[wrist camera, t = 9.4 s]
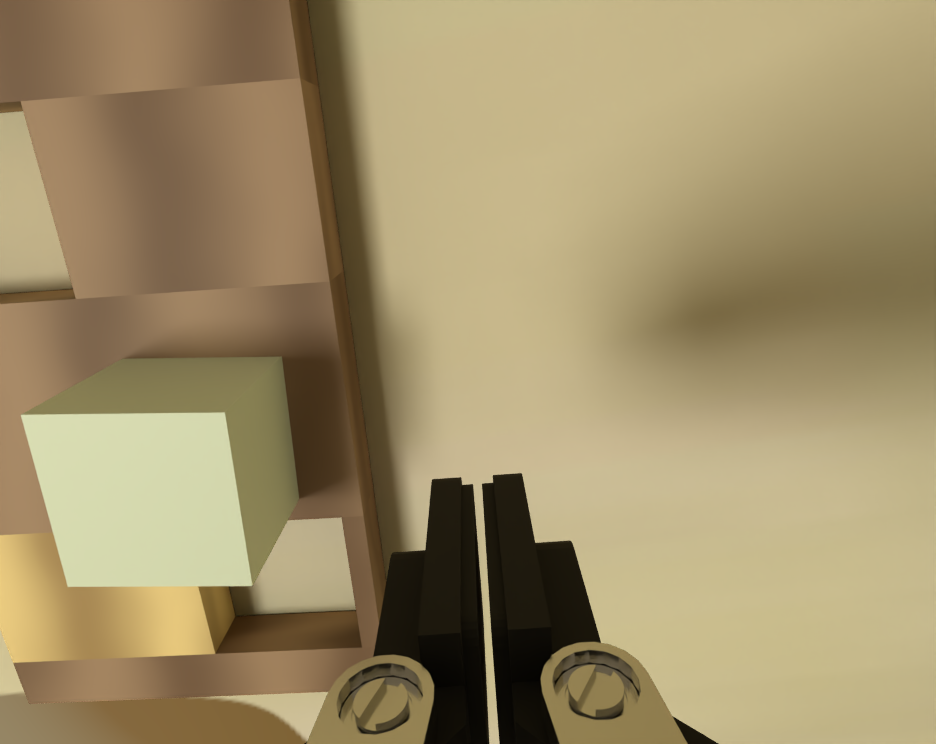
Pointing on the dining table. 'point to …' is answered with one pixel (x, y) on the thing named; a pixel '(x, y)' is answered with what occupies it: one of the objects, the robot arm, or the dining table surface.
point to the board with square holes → (180, 321)
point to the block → (167, 471)
